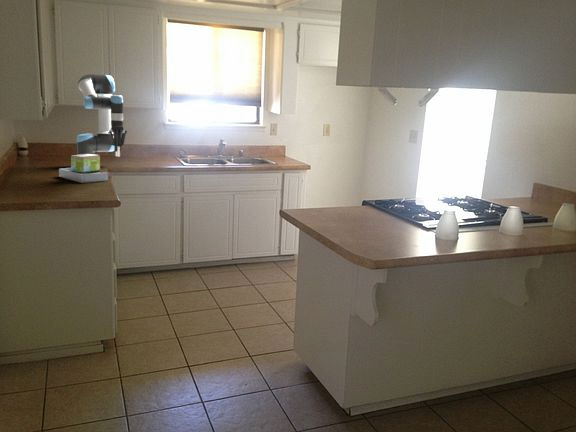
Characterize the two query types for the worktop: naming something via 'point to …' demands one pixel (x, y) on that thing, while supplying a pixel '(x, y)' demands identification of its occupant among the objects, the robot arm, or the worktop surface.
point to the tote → (82, 176)
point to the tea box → (85, 163)
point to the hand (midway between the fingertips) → (117, 156)
